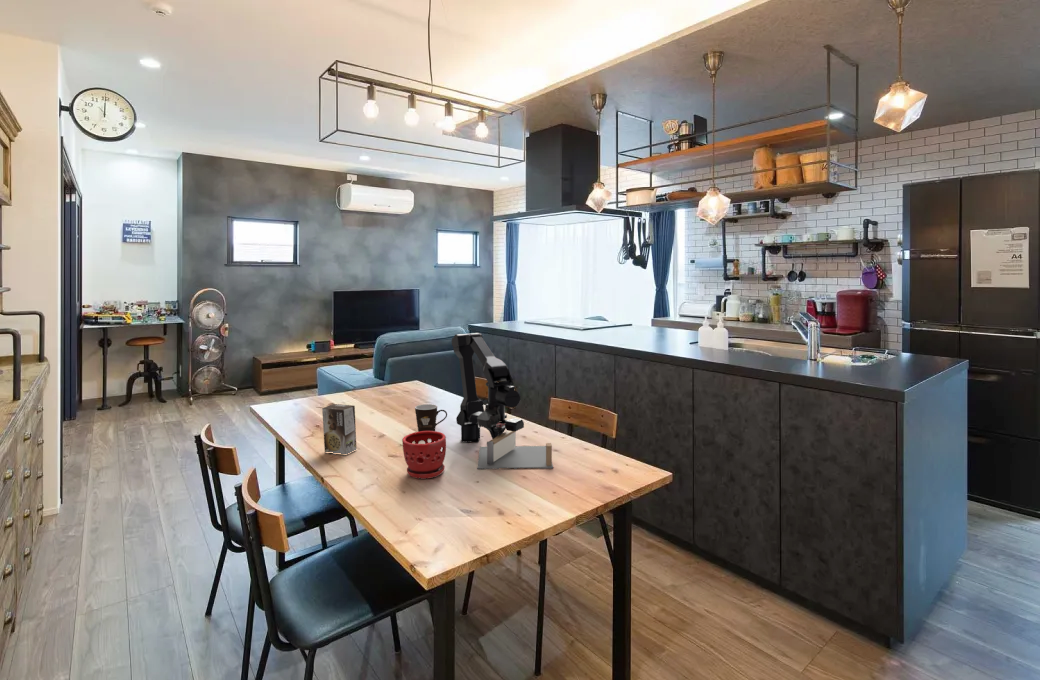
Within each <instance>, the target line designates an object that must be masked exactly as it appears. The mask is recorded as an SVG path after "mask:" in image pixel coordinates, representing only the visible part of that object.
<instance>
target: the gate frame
mask: <svg viewBox="0 0 1040 680" xmlns="http://www.w3.org/2000/svg"><path fill="white" fill-rule="evenodd" d="M478 452H479V453H478V459H477V460H478V461H477V470H500V469H499V468H514V470H518V469H517V468H539V469H554V465H553V461H552V460H553V446H552V443H551V442H546V443H545V445H537V446H536V445H516V448H514V449H513V450H511V451H510V452H508V453H507V454H505V455H503V456H502V457H500V458H499V459H497V460H496V461H494V462H493V464H487V446H479V451H478Z"/></svg>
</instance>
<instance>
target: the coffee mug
mask: <svg viewBox="0 0 1040 680" xmlns="http://www.w3.org/2000/svg"><path fill="white" fill-rule="evenodd" d="M414 410H415V411H414V413H415V418H416V425H417V432H420V431H436V427H437V426H438V425H439V424H440V423H442V422H444V421H445V420H446V419H447V417H448V412H447V411H446V410H445V409H439V410H438V405H436V404H432V403H431V404H430V403H429V404H427V403H426V404H418V405H416V406H414ZM440 412H443V413H445V417H443V419H441V420H440V421H437V417H438V415H439V413H440Z"/></svg>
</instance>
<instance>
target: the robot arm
mask: <svg viewBox="0 0 1040 680" xmlns="http://www.w3.org/2000/svg"><path fill="white" fill-rule="evenodd" d="M451 345H452V350H453V353H454V354H455V355H456V357H457V358H458V360H459V369H460V376H461V386H462V397H463V398H462V401H461V403H460V404H459V405H460V407H459V408H460V411H459V413H458V414H457V416H456V418H455V419H456V424H457V425H459V426H460V431H461V432H460V443H478V442H479V440H480V439H481V428H485V429H486V430H487V431H488V432H489V434H490V437H491V440H492V439H494V438H496V437H497V436H499V435H501V434H503V433H504V432H506V431H508V430H509V431H516V432H518V431H520V430H522V429H523V428H525V422H524V420H523V419H522V418H516V417H511V419H507V418H508V415H507V414H506V407H507V408H510V409H513V408H515V407H517V406H518V405H519V403H520V402H521V396H520V394H519V392H518V391H517V390H516V387H515V386H514V379H513V376H512V375H511V372H510V370H509V367H508V366H507V364H506V363H505V362H504V361H503V360H501V359H500V358H497V357H496V356H495V355H494V353H493V352H492V351H491V349H490V348H489V346H488V344H487V343H486V342H485V340H484V338H483V334H482V333H479V332H475V333H459V334H454V335H453V337H452V338H451ZM474 355H476V357H477V358H478V360H479V362H480V363H481V364H482V366H483V371H482V373H483V375H484V378H485V380H486V383H485V386H486V387H487V388H488V389H487V403H486V404H485V407H484V401H483V400H481V399H480V398H479V397H478V393H477V386H476V385H477V384H476V378H475V377H476V376H475V375H476V374H475V368H474V360H473V357H474Z"/></svg>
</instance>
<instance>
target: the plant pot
mask: <svg viewBox="0 0 1040 680" xmlns="http://www.w3.org/2000/svg"><path fill="white" fill-rule="evenodd" d="M446 438H447V437H446V435H445V434H444V433H443V432H441V431H436V430H435V431H420V432H418V431H415V432H411V433H409V434H407V435H405V436H403V437H402V451H403V458H404V461H405V463H406V465H407V468H406V473H407V474H408V475H409V476H410V477H412V478H414V477H415V478H414V479H419V478H421V479H422V480H424V479H426V478H427V479H431V478H433V477H434V478H436V477H439V476H440V475H441V474H443V473H444V472H445V468H446V466H445V464H444V461H445V458H446V453H447V439H446ZM428 440H430V441H428ZM422 441H423V442H424V443H420V442H422Z"/></svg>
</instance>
